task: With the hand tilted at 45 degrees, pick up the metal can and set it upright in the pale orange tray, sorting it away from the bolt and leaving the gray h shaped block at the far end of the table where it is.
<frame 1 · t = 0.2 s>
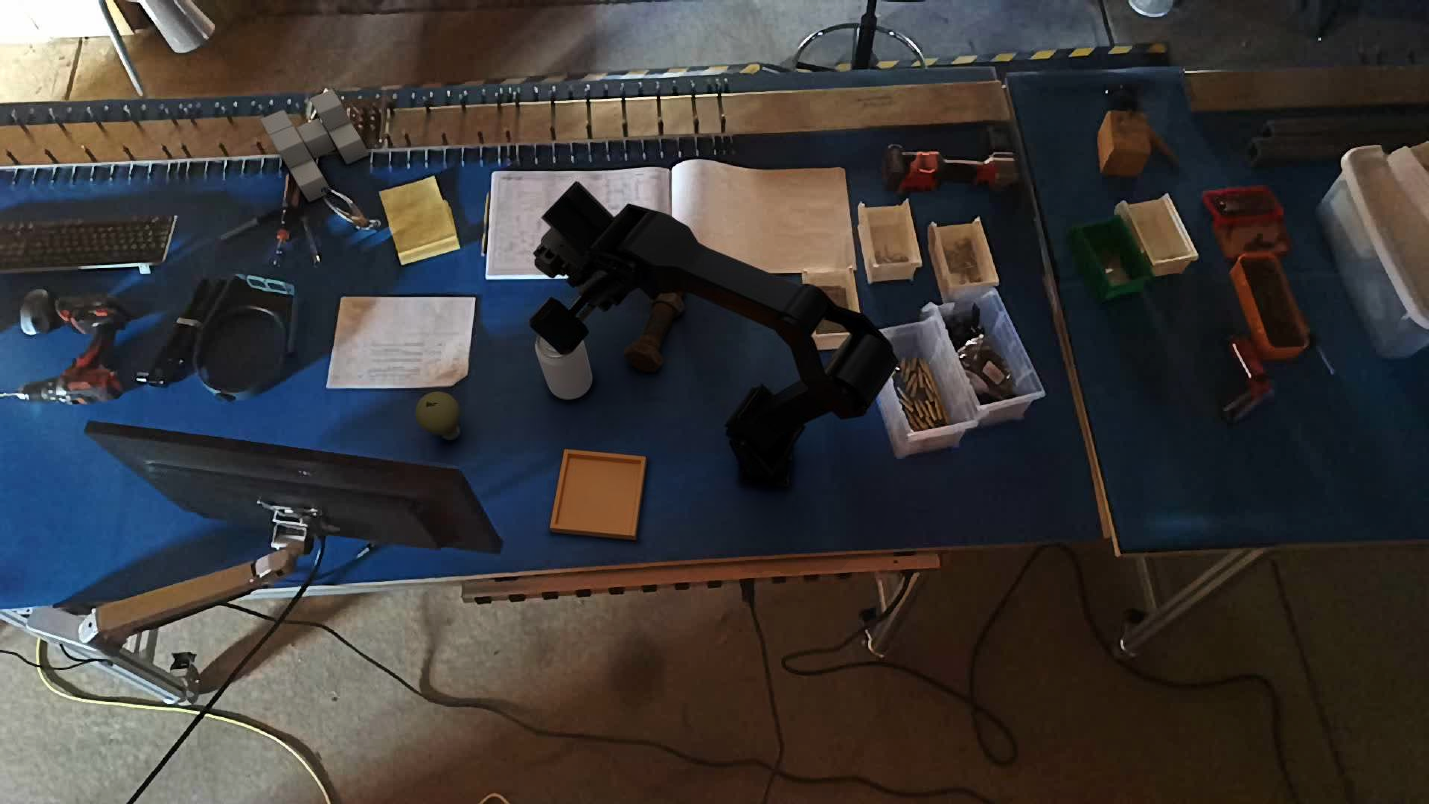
hand: (574, 298, 112), 15 cm above the table, tool tilted 35°, fingers open, 9 cm apart
bolt: (661, 329, 127), on the table
light bulb: (452, 435, 120), on the table
tray: (600, 496, 116), on the table
gray h shaped block: (331, 163, 141), on the table
can: (570, 381, 123), on the table
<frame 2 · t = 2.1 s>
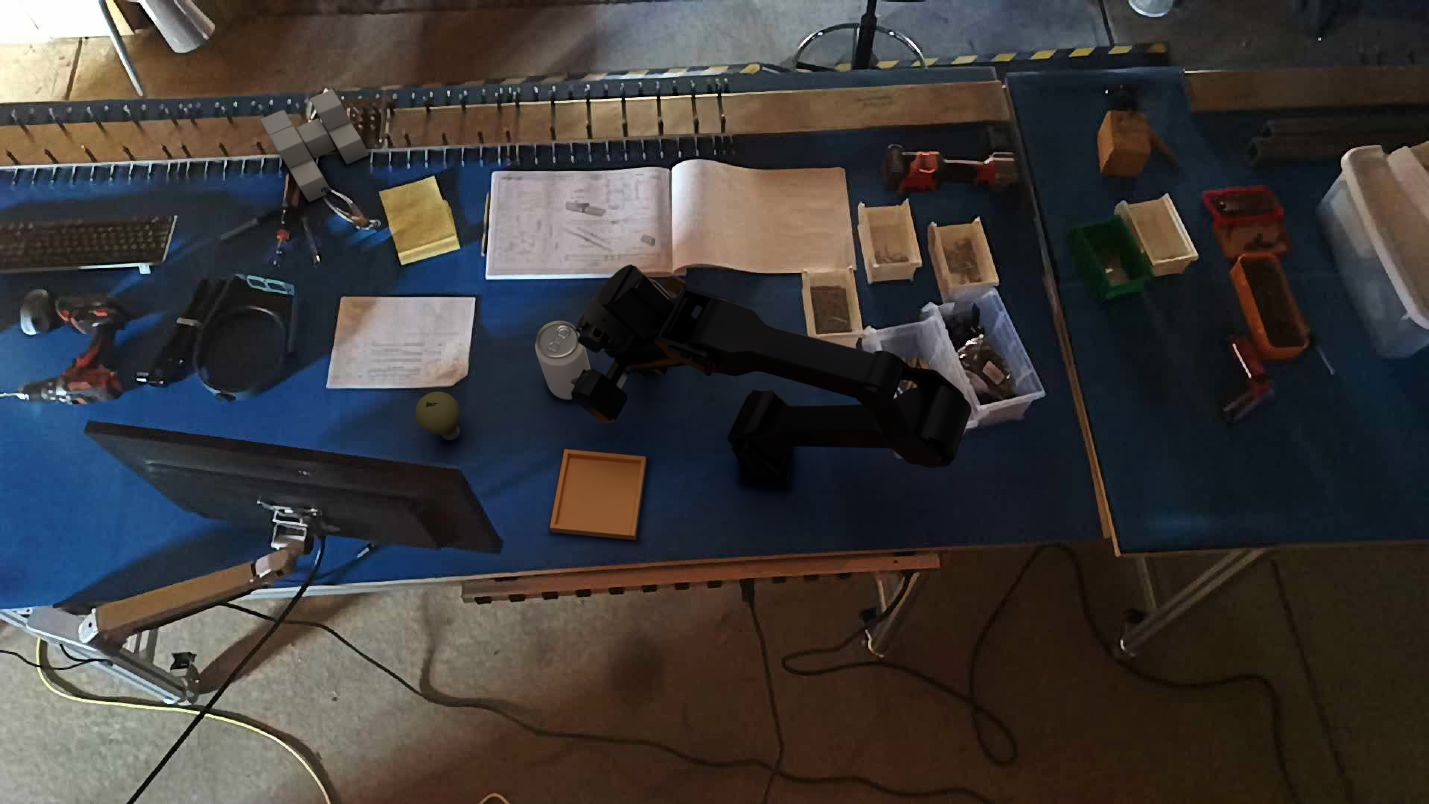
hand: (590, 354, 112), 11 cm above the table, tool tilted 45°, fingers open, 9 cm apart
nothing on the table moved.
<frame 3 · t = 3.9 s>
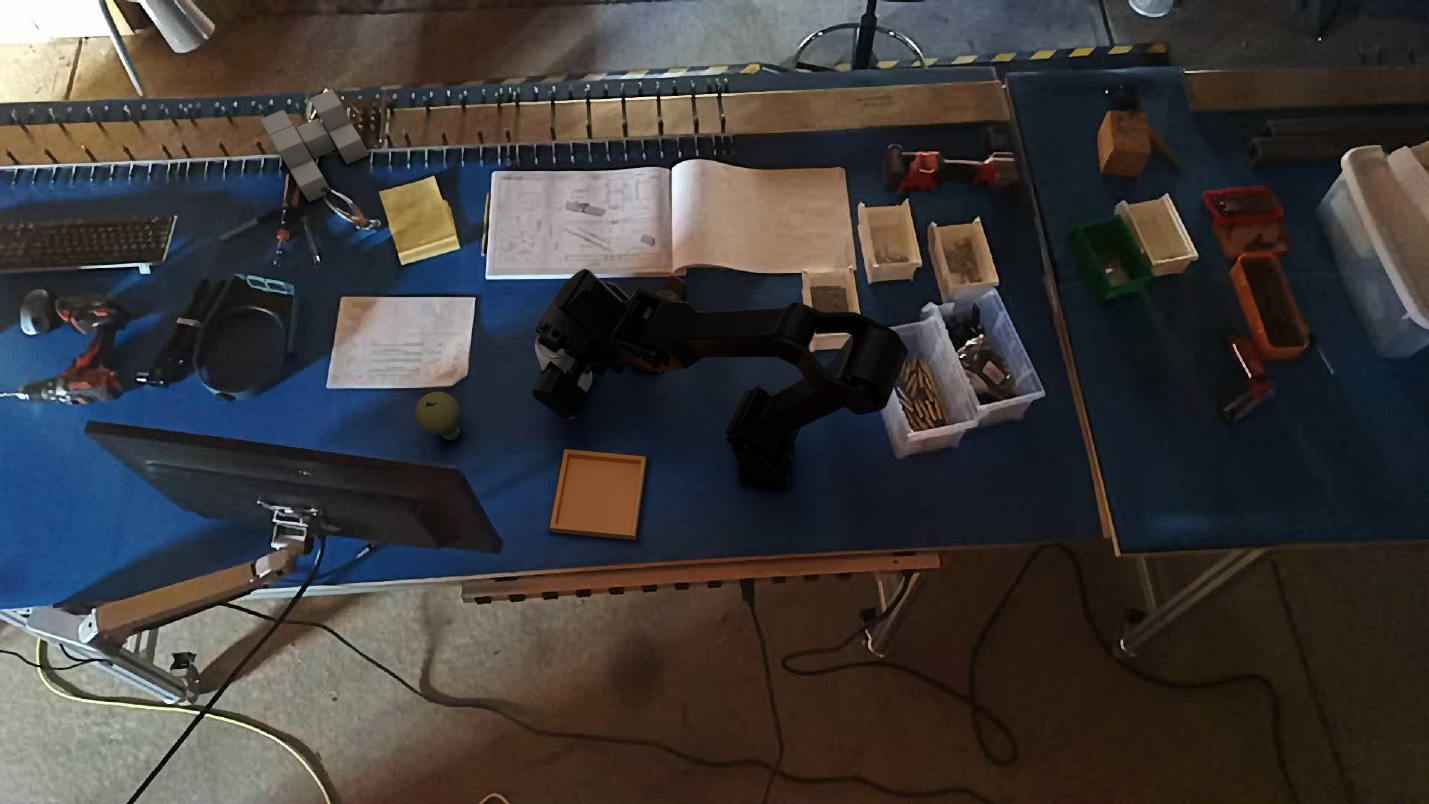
hand: (554, 354, 118), 7 cm above the table, tool tilted 45°, fingers closed on can, 6 cm apart
can: (570, 381, 123), on the table, touching gripper
everything else where it was.
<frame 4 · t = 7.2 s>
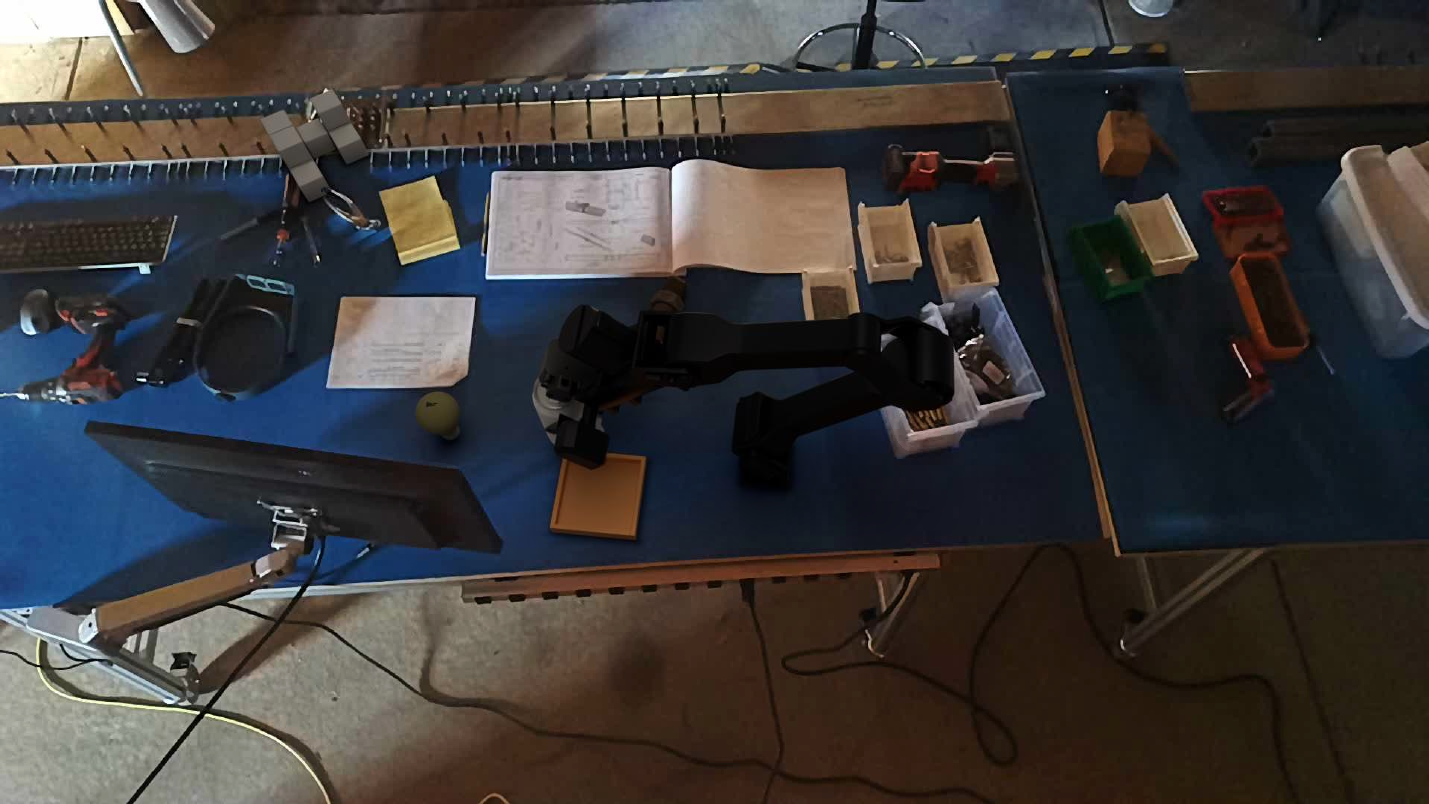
hand: (553, 406, 109), 12 cm above the table, tool tilted 45°, fingers closed on can, 6 cm apart
can: (572, 429, 115), point 5 cm above the table, touching gripper
everything else where it was.
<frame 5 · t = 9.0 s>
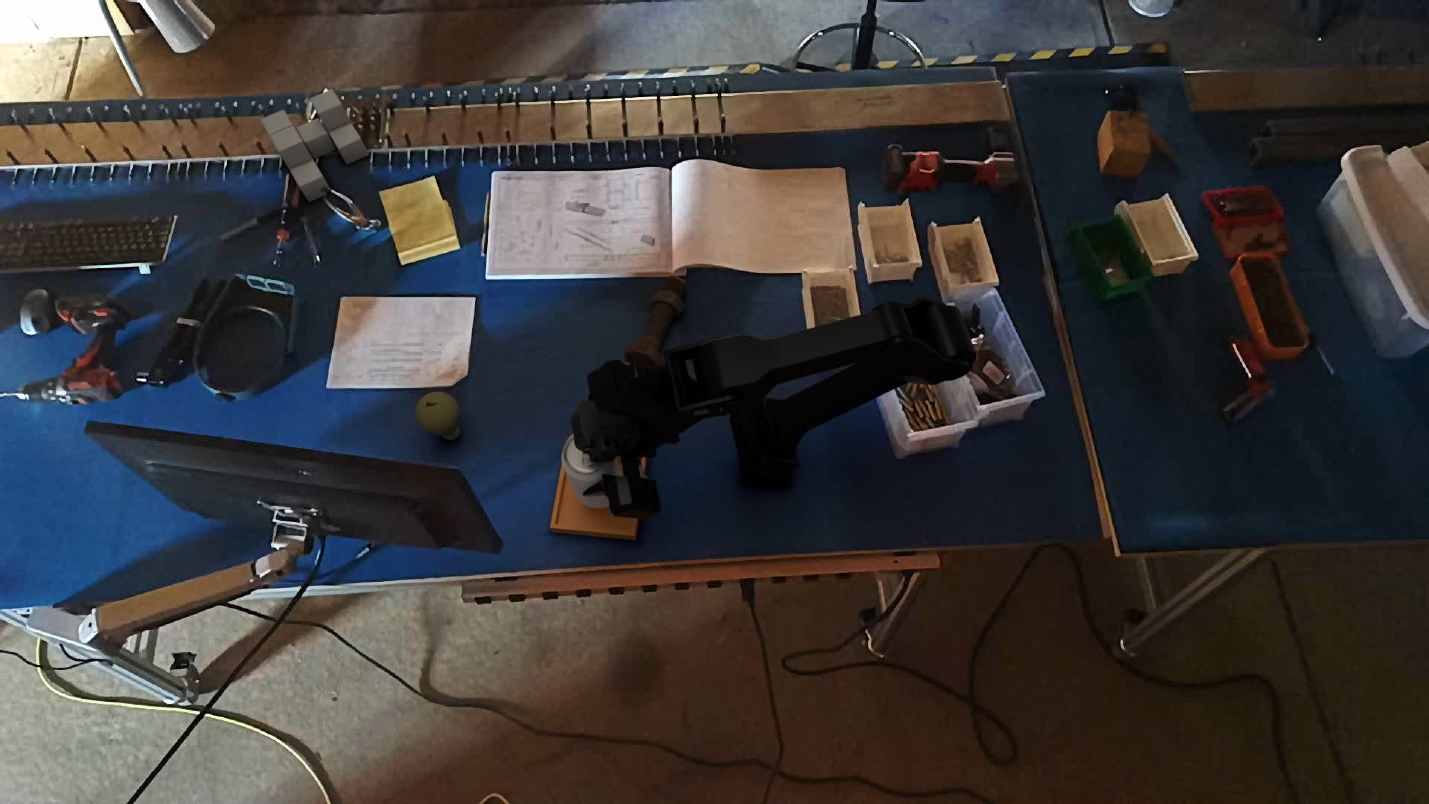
hand: (581, 469, 106), 10 cm above the table, tool tilted 45°, fingers closed on can, 6 cm apart
can: (599, 486, 112), point 4 cm above the table, touching gripper
everything else where it was.
when the fingers open (7 cm above the table, at t = 10.5 s): can stays where it is, resting on tray.
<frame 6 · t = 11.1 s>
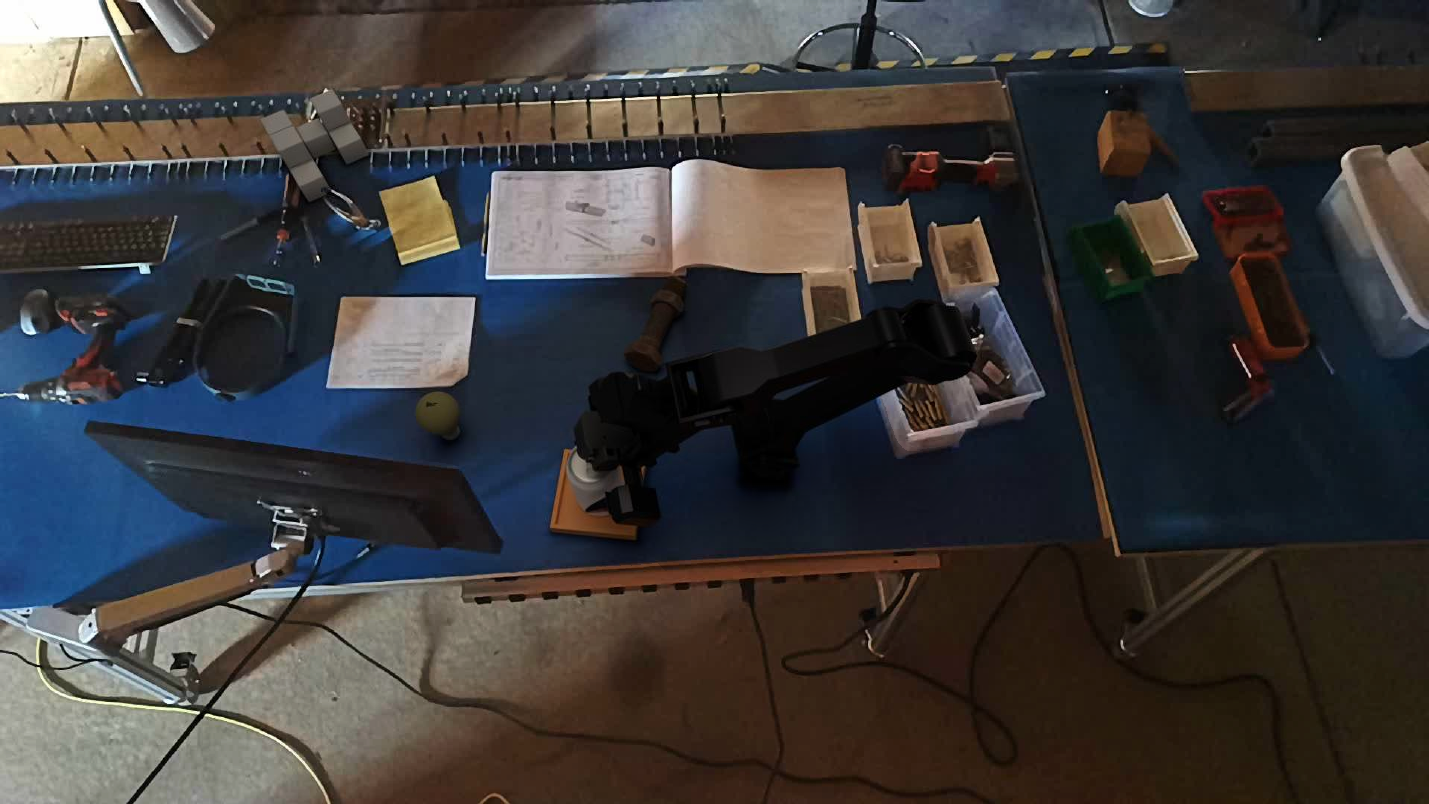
hand: (582, 477, 108), 8 cm above the table, tool tilted 45°, fingers open, 9 cm apart
can: (601, 495, 115), resting on tray
everything else where it was.
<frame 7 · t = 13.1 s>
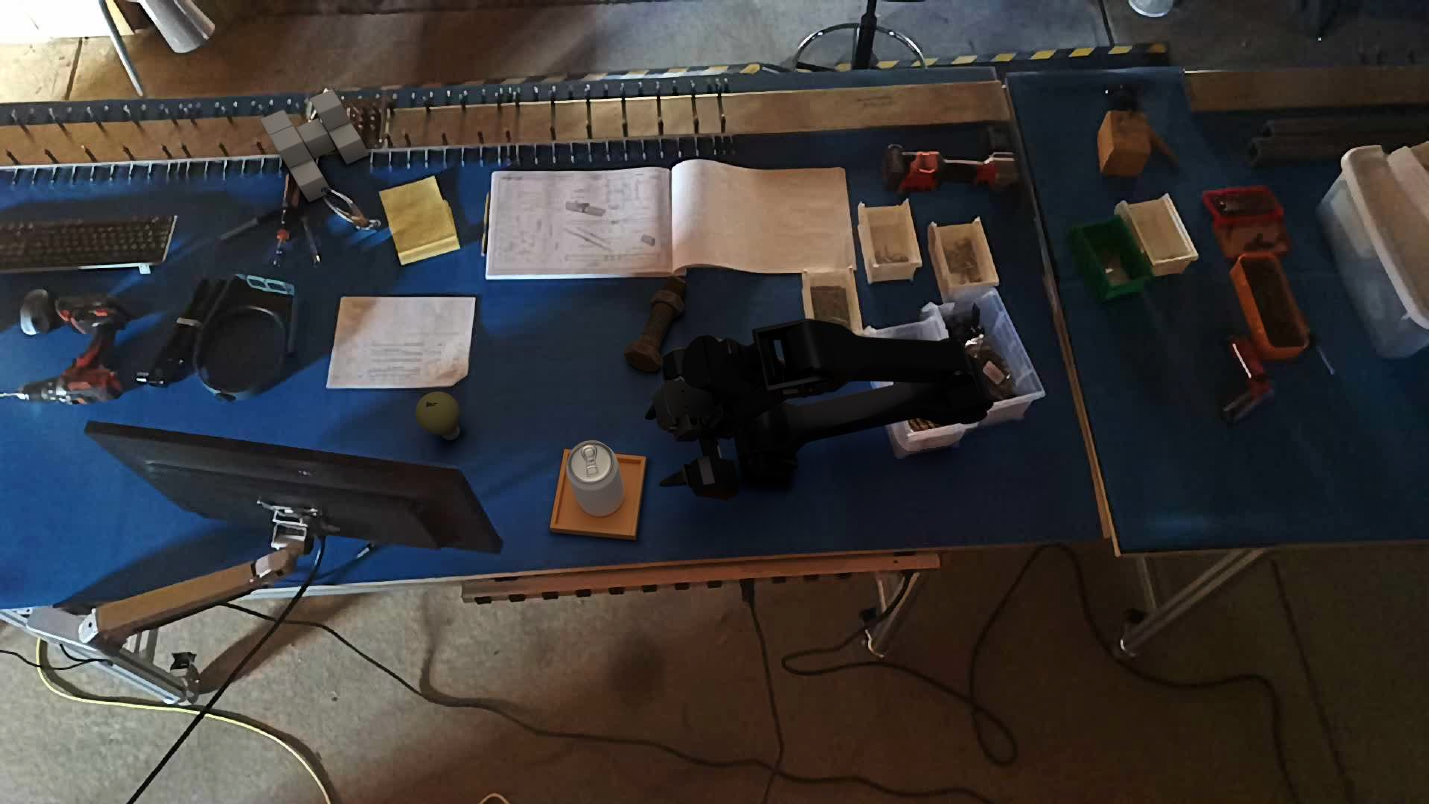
hand: (654, 451, 106), 12 cm above the table, tool tilted 45°, fingers open, 9 cm apart
nothing on the table moved.
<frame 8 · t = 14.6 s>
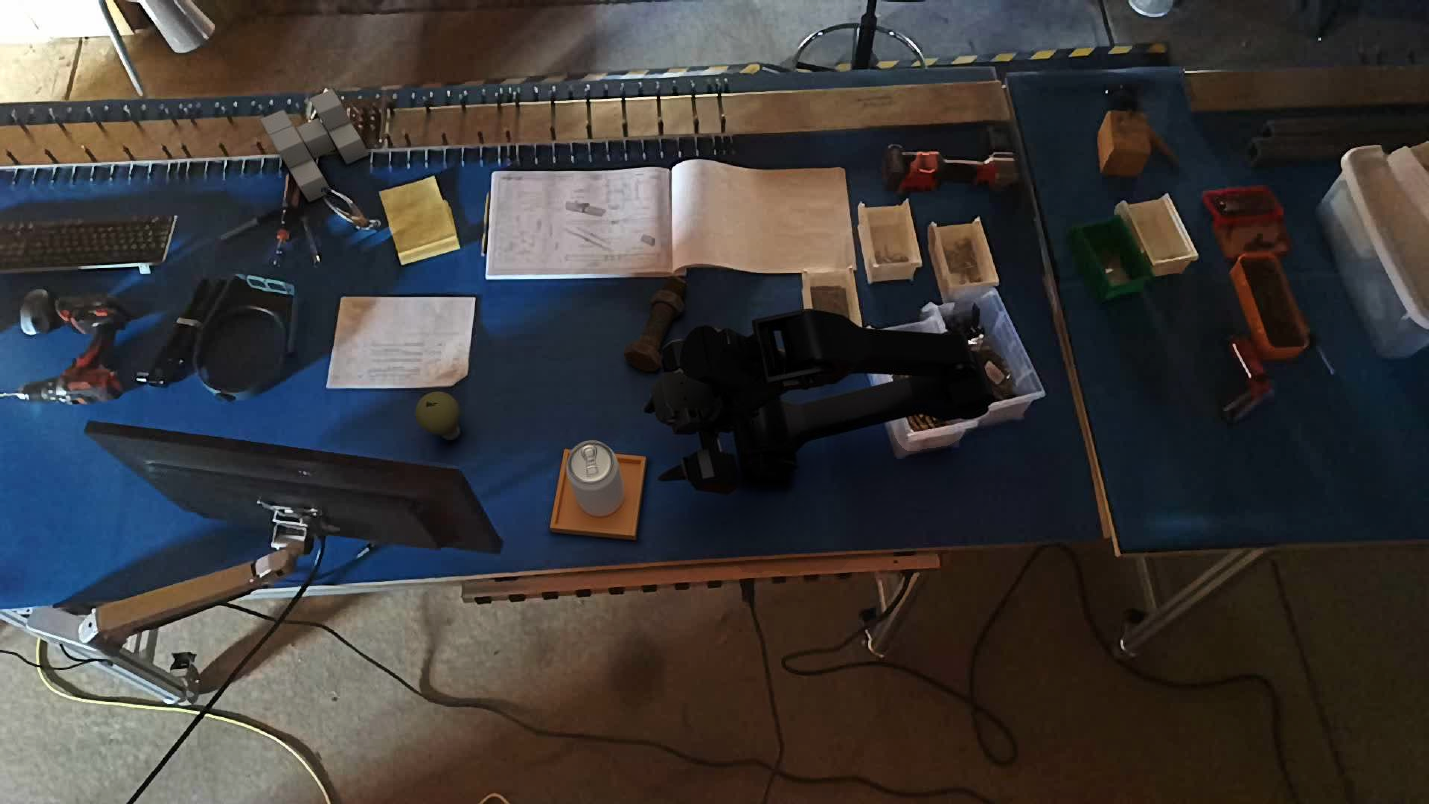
hand: (653, 445, 104), 14 cm above the table, tool tilted 45°, fingers open, 9 cm apart
nothing on the table moved.
at the end: can inside the target area in the tray (0.2 cm from its centre), point 0.3 cm above the tray's base; can tilted 0°; gray h shaped block moved 0.2 cm from its start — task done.
